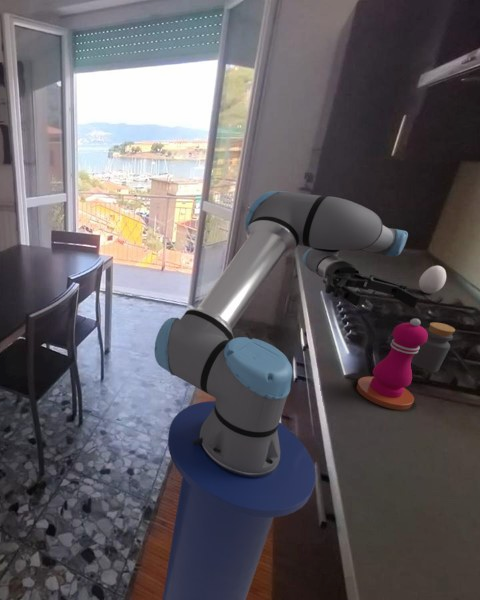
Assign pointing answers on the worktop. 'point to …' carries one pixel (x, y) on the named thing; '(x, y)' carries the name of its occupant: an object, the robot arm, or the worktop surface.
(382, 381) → the pepper mill
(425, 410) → the worktop surface
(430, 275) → the egg
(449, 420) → the worktop surface
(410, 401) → the trivet
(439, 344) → the bottle
